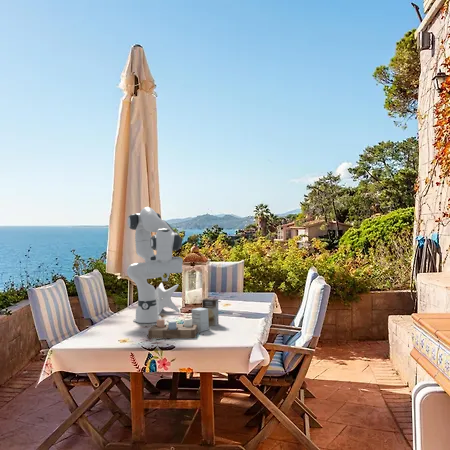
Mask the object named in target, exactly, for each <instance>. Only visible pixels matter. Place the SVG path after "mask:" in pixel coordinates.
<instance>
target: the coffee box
mask: <svg viewBox="0 0 450 450" xmlns="http://www.w3.org/2000/svg"><path fill="white" fill-rule="evenodd" d="M201 304H202V306H201V308H207V309H208V321H209V327H216V326H218V325H219V323H220V322H219V321H220V320H219V319H220V318H219V316H220V315H219V299H218V298H204V299H202V303H201Z"/></svg>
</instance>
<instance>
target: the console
mask: <svg viewBox="0 0 450 450" xmlns="http://www.w3.org/2000/svg"><path fill="white" fill-rule="evenodd" d="M147 332H148V334H147V335H148V339H195V338H196V336H197V334H198V332H199V331H198V324H192V327H184V324H177V330H168V324H165V327H157V324H153V325H152V326H151V327H150V328H149V329H148V331H147Z"/></svg>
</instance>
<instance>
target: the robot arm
mask: <svg viewBox="0 0 450 450" xmlns="http://www.w3.org/2000/svg"><path fill="white" fill-rule="evenodd" d="M127 225H128V228H129V229H130V230H132V231H134V232H135V233H134V234H135V235H134V239H135V240H134V243H135V252H136V254H137V256H138V257H140V258H142V259H143V260H144V262H135V263H132V264H129V265H128V267H127V269H126V274H127V276H128V278H129V279H131V280H132V281H133V283H134V284H135V285H136V288H137V293H138V294H137V295H138V300H137V307H136V308H135V319H133V320H132V321H133V323H134V322H135V323H138V324H151V323H157V320H158V319H162V315H160V314H158V308H157V306H156V299H155V290H156V288H155V287H154V285H152V284H150V283H148V280H149V279H157V278H161V279H162V280H161V281H162V282H168V281H169V278H170V275H171V274H181V273H183V270H184V269H183V268H184V267H183V262H184V260H183V259H184V258H182V257H181V256H173V252H174V251H175V252H176V251H178V250H180V249H181V248H182V246H183V239H182V237H181V235H180V234H178V233H177V232H176V231H175V230H174V229H173V227H172V226H171V225H170V224H169V223H168V222H166V221H165V220H163V219H162V216H161V215H160V213H157V212H156V211H155V210H154V208H152V207H150V206H146V207H143V208H142V209H141V210H140V212H139V213H132V214H130V215H129V216H128V219H127ZM152 233H156V234H153V235H152ZM154 251H156V254H155V252H154ZM164 274H166V277H164Z"/></svg>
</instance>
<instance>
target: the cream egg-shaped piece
mask: <svg viewBox="0 0 450 450" xmlns="http://www.w3.org/2000/svg"><path fill="white" fill-rule="evenodd" d="M183 323H184V324H183V325H184V327H192V318H185V319H183Z"/></svg>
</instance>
